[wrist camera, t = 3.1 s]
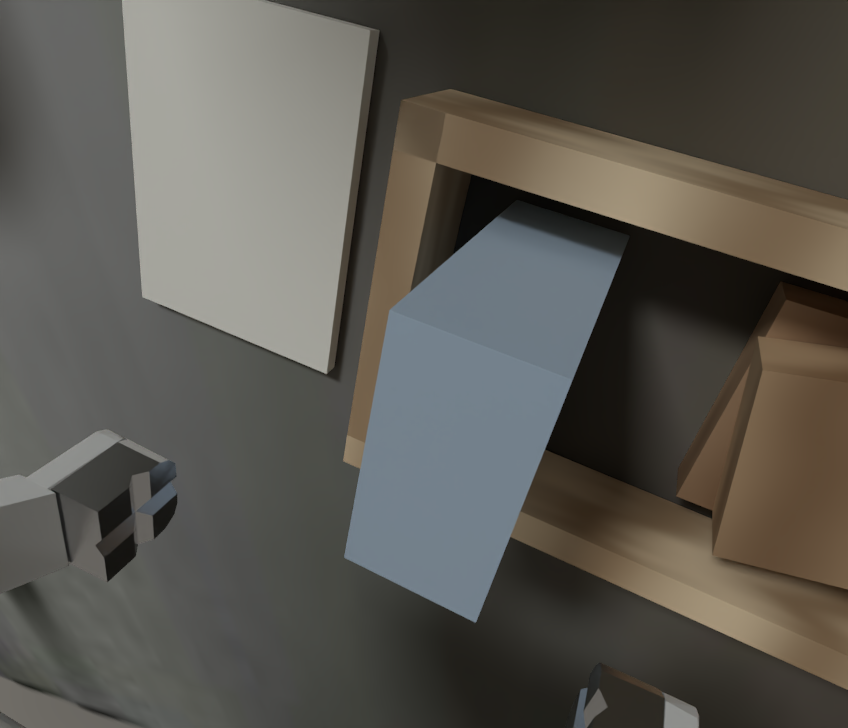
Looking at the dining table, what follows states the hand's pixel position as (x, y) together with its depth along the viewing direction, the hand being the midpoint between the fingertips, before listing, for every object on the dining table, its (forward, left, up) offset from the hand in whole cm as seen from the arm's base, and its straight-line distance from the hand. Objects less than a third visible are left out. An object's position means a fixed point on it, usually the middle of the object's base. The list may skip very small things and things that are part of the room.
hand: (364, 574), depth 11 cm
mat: (+11, -1, -12) cm, 16 cm away
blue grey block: (0, 0, -12) cm, 12 cm away
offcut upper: (-9, 0, -10) cm, 14 cm away
